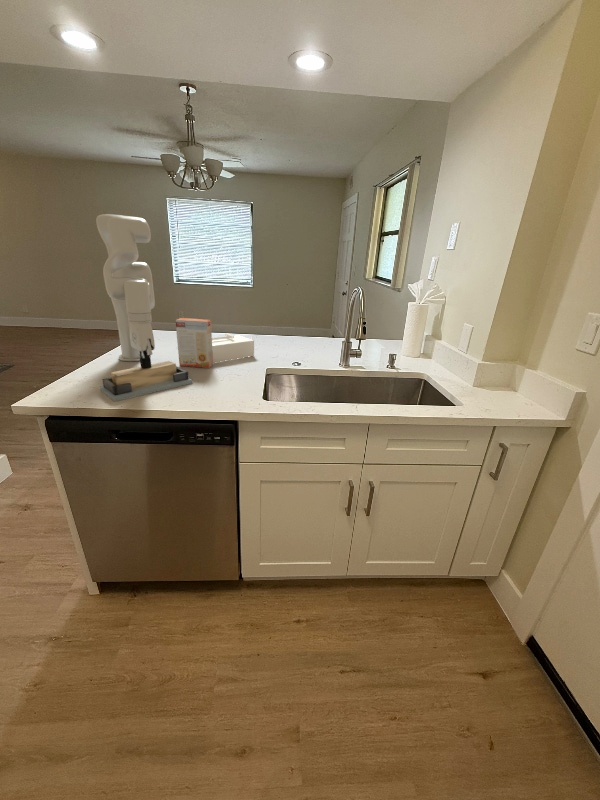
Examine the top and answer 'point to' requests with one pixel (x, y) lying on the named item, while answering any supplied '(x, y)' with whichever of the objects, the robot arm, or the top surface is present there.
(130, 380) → the slat
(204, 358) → the cracker box
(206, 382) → the top surface
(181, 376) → the rail base
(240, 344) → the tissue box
